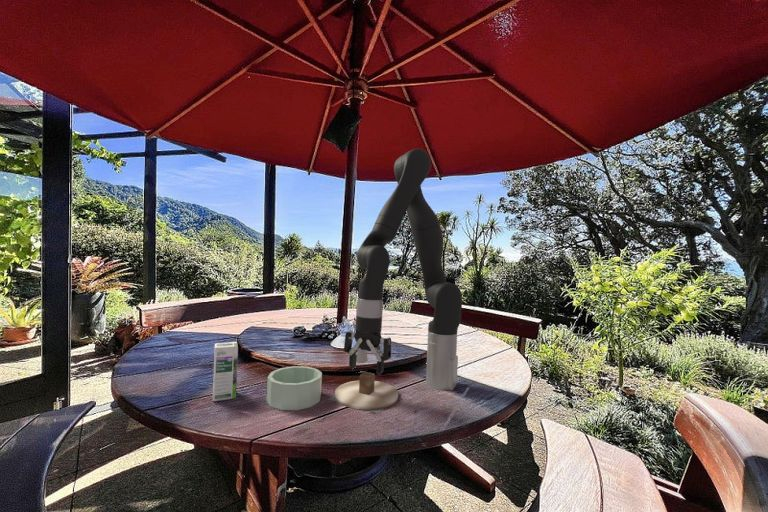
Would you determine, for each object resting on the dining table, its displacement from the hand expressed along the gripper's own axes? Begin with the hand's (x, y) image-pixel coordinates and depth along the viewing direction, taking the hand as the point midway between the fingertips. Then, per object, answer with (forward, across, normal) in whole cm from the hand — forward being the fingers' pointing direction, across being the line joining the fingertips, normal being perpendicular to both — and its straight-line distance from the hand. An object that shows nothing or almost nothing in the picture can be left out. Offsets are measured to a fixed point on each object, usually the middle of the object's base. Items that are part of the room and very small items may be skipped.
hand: (365, 370), depth 95 cm
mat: (+8, -1, 0) cm, 8 cm away
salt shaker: (+8, +12, -17) cm, 22 cm away
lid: (+7, -1, 0) cm, 7 cm away
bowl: (+8, +15, +12) cm, 21 cm away
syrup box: (+9, +33, +20) cm, 40 cm away
